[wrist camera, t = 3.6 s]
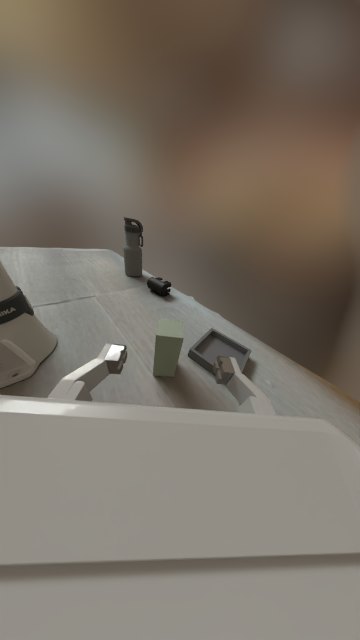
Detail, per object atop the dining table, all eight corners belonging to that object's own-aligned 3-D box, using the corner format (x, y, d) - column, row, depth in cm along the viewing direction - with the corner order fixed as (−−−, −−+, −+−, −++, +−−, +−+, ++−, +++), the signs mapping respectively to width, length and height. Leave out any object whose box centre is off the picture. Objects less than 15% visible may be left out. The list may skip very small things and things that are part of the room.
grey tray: (232, 388, 31) (237, 382, 30) (187, 355, 37) (189, 349, 35) (247, 356, 41) (251, 350, 39) (209, 334, 46) (211, 328, 45)
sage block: (173, 377, 31) (183, 338, 24) (152, 375, 31) (156, 334, 23) (174, 359, 35) (183, 321, 28) (156, 357, 35) (159, 318, 27)
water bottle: (139, 271, 87) (138, 219, 71) (144, 276, 81) (145, 221, 65) (123, 272, 82) (118, 216, 66) (128, 277, 76) (123, 217, 60)
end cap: (146, 290, 66) (146, 277, 63) (157, 287, 71) (157, 275, 67) (160, 298, 62) (161, 284, 58) (170, 294, 67) (172, 282, 63)
